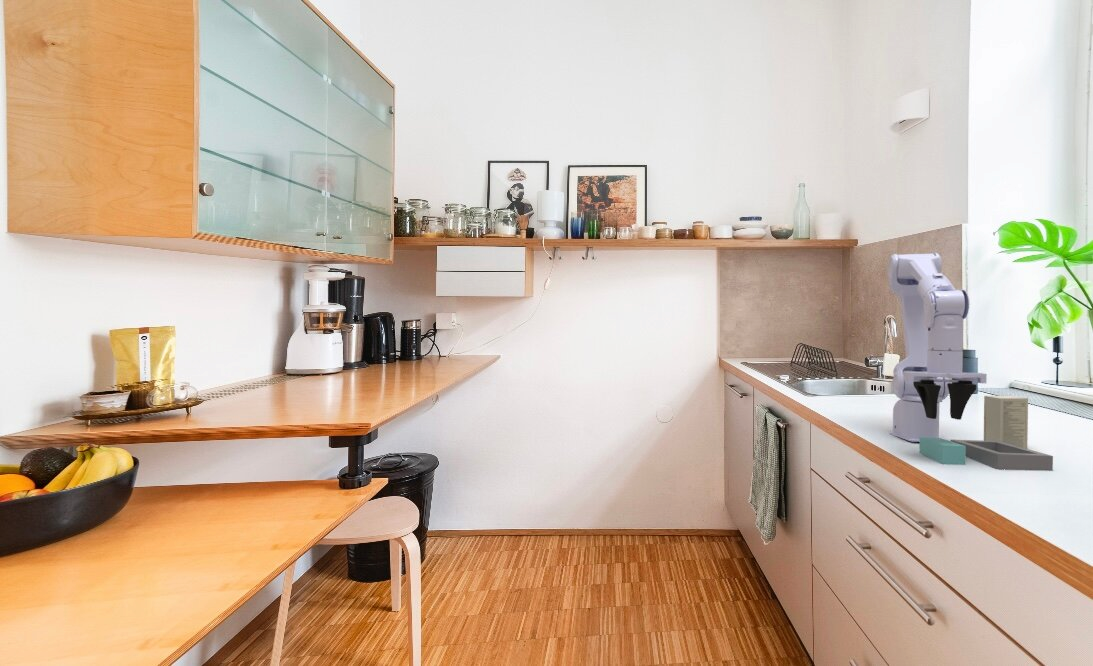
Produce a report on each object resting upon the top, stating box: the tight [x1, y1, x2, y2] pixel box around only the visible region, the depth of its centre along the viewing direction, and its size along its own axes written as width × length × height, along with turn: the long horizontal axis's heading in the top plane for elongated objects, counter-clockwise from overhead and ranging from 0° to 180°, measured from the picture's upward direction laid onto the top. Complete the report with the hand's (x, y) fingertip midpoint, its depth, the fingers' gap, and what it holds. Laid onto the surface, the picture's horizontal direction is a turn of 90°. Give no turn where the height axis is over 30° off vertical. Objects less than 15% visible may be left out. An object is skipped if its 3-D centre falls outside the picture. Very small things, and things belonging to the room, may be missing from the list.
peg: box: [918, 437, 967, 466], centre depth 108 cm, size 8×4×4 cm, turn 173°
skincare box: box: [983, 394, 1029, 449], centre depth 116 cm, size 6×4×12 cm
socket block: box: [949, 439, 1054, 472], centre depth 107 cm, size 14×10×3 cm
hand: (943, 418), depth 108 cm, fingers open, 4 cm apart
